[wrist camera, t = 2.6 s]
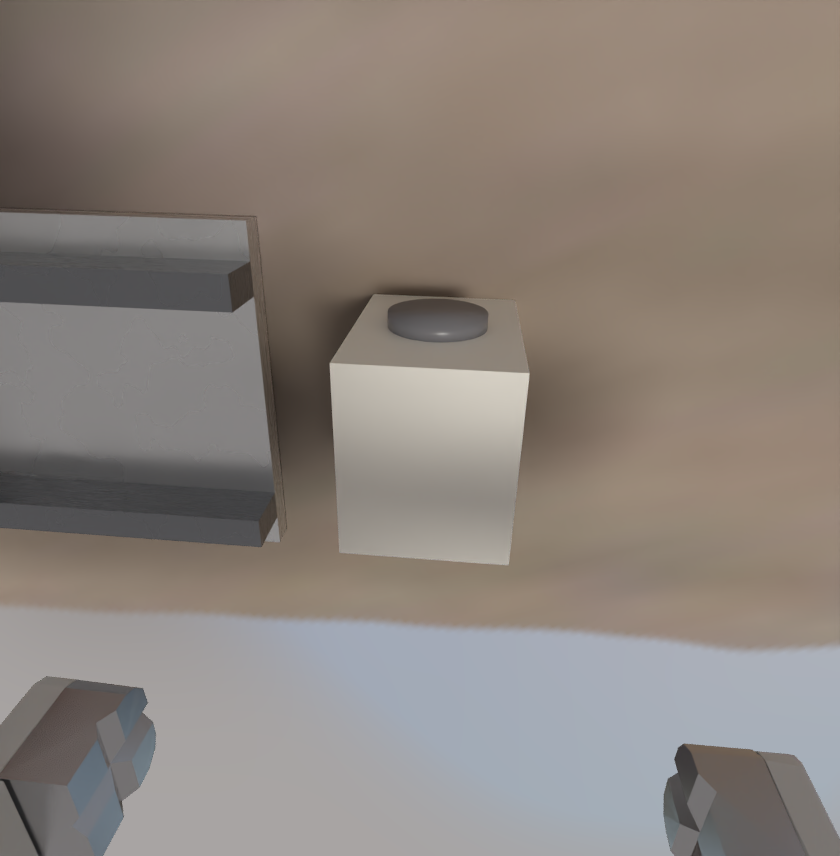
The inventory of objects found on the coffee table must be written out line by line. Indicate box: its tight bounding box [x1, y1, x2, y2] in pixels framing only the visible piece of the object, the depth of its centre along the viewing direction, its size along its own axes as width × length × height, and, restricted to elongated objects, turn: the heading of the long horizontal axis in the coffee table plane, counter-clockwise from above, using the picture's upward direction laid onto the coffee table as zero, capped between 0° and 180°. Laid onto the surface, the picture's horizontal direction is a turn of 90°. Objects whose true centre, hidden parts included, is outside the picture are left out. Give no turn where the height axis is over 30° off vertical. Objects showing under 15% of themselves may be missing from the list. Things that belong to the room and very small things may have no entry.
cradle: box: [0, 208, 287, 547], centre depth 23 cm, size 15×13×3 cm
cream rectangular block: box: [330, 294, 530, 565], centre depth 19 cm, size 5×6×7 cm
